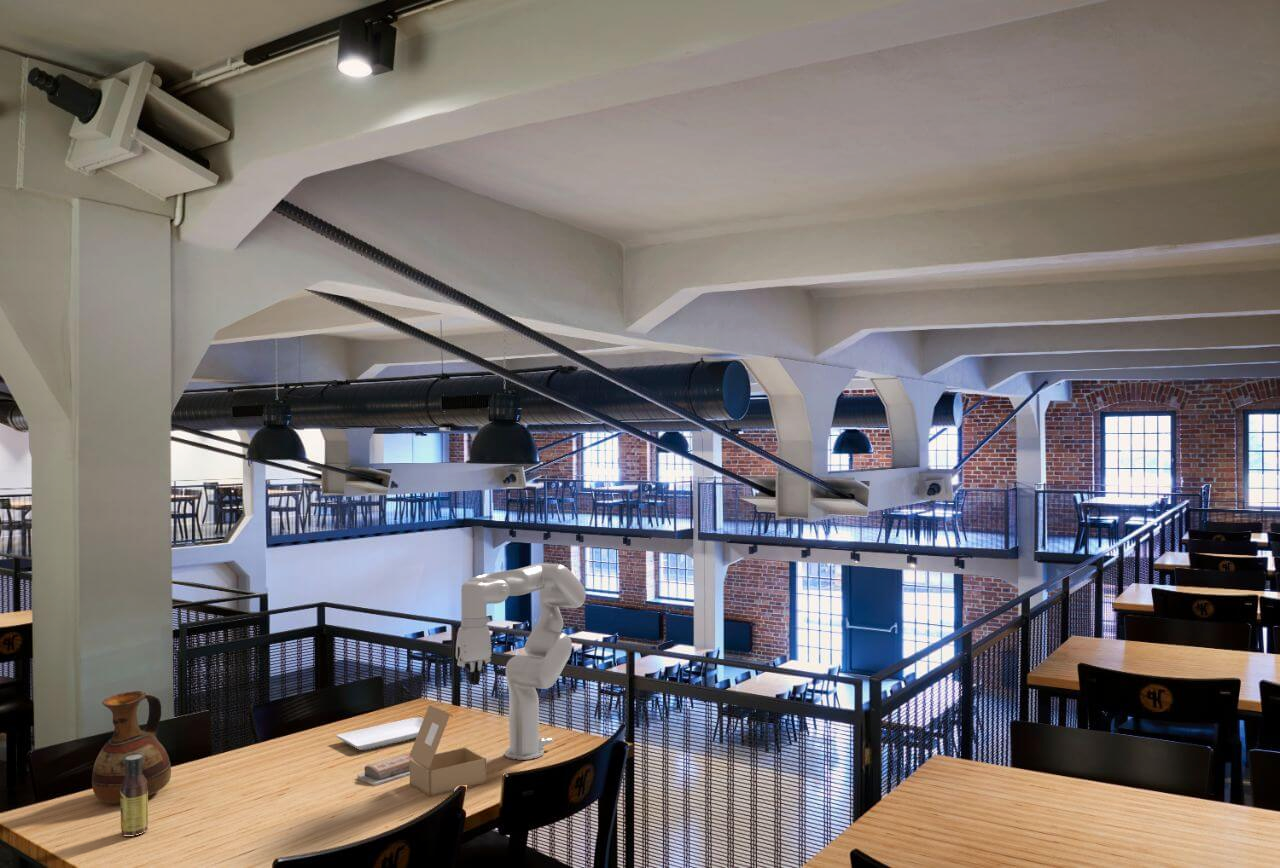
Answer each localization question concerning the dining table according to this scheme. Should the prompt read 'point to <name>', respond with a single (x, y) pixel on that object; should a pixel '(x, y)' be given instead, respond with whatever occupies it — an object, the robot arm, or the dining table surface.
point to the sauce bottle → (134, 798)
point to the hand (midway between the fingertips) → (474, 683)
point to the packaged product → (386, 770)
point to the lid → (429, 735)
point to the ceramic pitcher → (130, 747)
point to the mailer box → (448, 772)
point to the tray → (382, 734)
